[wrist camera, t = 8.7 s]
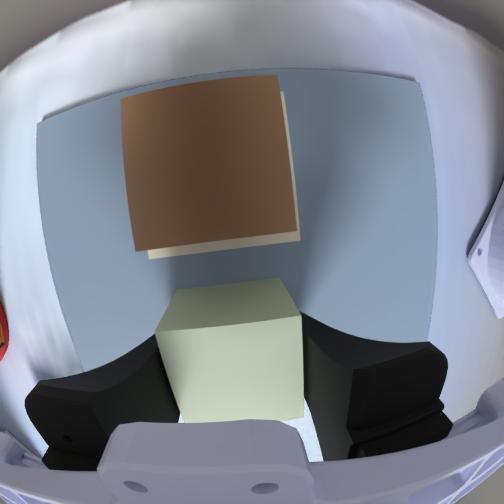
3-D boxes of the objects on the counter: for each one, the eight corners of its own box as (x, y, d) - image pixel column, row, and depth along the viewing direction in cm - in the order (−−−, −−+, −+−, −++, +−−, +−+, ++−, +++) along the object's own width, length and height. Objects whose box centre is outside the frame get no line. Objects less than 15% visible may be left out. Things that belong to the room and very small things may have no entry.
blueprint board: (415, 84, 11) (420, 82, 10) (422, 342, 14) (427, 345, 14) (41, 125, 10) (35, 123, 10) (95, 385, 13) (92, 390, 13)
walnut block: (262, 112, 10) (277, 74, 7) (274, 218, 11) (297, 230, 7) (155, 127, 10) (120, 98, 6) (167, 232, 11) (135, 251, 7)
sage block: (279, 277, 12) (301, 315, 8) (286, 362, 13) (303, 417, 9) (177, 289, 12) (154, 331, 8) (196, 372, 13) (187, 429, 9)
